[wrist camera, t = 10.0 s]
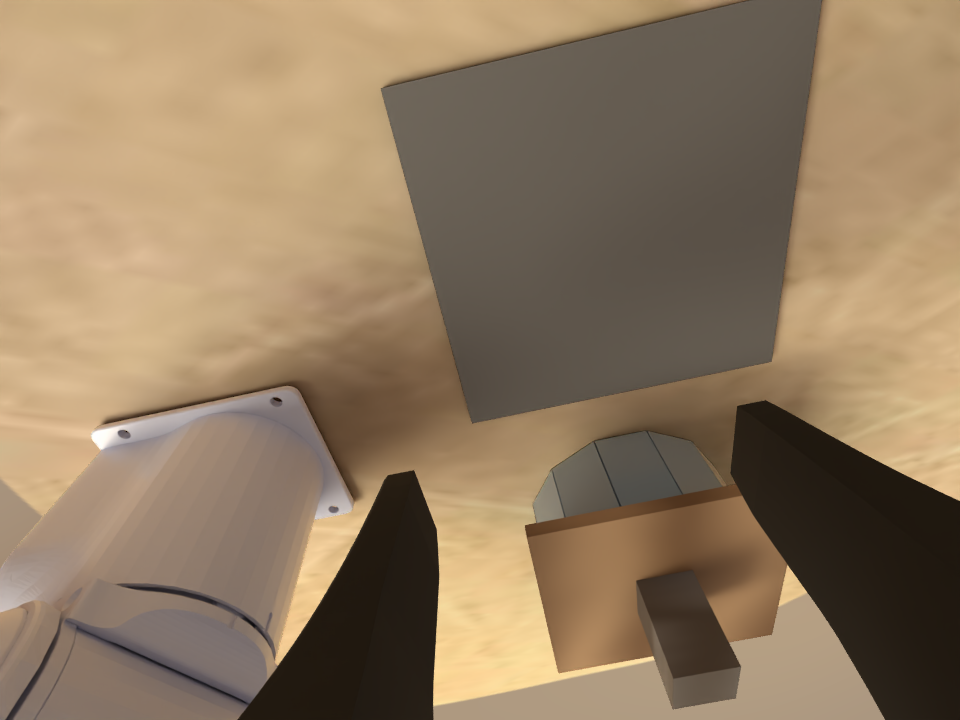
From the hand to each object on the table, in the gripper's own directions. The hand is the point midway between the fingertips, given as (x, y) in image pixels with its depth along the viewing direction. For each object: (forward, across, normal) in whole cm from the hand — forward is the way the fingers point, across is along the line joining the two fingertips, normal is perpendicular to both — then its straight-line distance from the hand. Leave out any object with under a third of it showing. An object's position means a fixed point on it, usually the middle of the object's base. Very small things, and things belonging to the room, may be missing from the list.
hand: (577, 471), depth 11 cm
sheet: (+5, -4, +14) cm, 15 cm away
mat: (+10, -4, -1) cm, 11 cm away
